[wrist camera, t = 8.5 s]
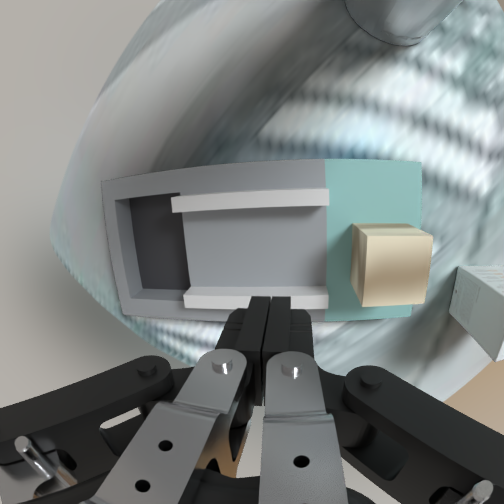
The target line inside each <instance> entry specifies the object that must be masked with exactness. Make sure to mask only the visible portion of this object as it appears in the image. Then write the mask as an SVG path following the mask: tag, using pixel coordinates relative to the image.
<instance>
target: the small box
mask: <svg viewBox="0 0 504 504" xmlns="http://www.w3.org/2000/svg"><path fill="white" fill-rule="evenodd" d="M449 313H450V314H451V315H452V316H453V317H454V318H455V319H456V320H457V321H458V322H459V323H460V324H461V326H462V327H463V328H464V329H465V330H466V331H467V332H468V333H469V334H470V335H471V336H472V337H473V338H474V339H475V340H476V342H477V343H478V344H479V345H480V346H481V347H482V348H483V349H484V350H485V352H486V353H487V354H488V355H489V356H490V357H491V358H492V359H493V361H494V362H497V361H501V360H504V265H497V266H458V270H457V275H456V281H455V286H454V291H453V295H452V300H451V304H450V309H449Z"/></svg>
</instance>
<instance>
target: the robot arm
mask: <svg viewBox="0 0 504 504" xmlns="http://www.w3.org/2000/svg"><path fill="white" fill-rule="evenodd" d="M462 1H463V0H346V7H347V10H348V12H349V14H350V16H351V17H352V18H353V19H354V21H355V22H356V23H357V24H358V25H359V26H360V27H361V28H362V29H364V30H365V31H366V32H368V33H369V34H370V35H372V36H374V37H376V38H378V39H380V40H382V41H385V42H387V43H390V44H395V45H401V46H409V45H414V44H417V43H419V42H420V41H422V40H423V39H424V38H425V37H426V36H427V35H428V34H429V33H430V32H431V31H432V30H433V29H434V28H435V27H436V26H437V25H438V24H439V23H440V22H441V21H443V20H444V19H445V18H446V17H447V16H448V15H449V14H450V13H451V12H452V11H453V10H454V9H455V8H456V7H457V6H458V5H459V4H460V3H461V2H462ZM263 396H264V406H265V416H264V418H263V435H262V453H261V472H260V476H255V477H245V478H236V473H237V467H238V464H239V461H240V458H241V455H242V452H243V449H244V446H245V442H246V439H247V436H248V433H249V429H250V426H251V417H252V413H253V408H254V406H262V402H263ZM137 407H138V409H139V411H140V413H141V414H140V415H138V416H136V417H133V418H131V419H129V420H127V421H125V422H122V423H120V424H118V425H115V426H113V427H111V428H107V429H103V428H100V425H101V424H102V423H103V422H105V421H107V420H109V419H112V418H114V417H117V416H119V415H121V414H124V413H126V412H128V411H130V410H133V409H135V408H137ZM341 457H342V458H343V459H344V460H346V461H347V462H348V463H349V464H351V465H352V466H353V467H354V468H355V469H357V470H358V471H359V472H360V473H361V474H363V475H364V476H365V477H366V478H368V479H369V480H370V481H372V482H373V483H374V484H375V485H377V486H378V487H379V488H381V489H382V490H383V491H385V492H386V493H387V494H389V495H390V496H391V497H393V498H394V499H396V500H397V501H398V502H400V503H401V504H504V435H502V434H500V433H498V432H496V431H494V430H492V429H491V428H489V427H487V426H485V425H483V424H481V423H479V422H477V421H476V420H474V419H472V418H470V417H468V416H466V415H464V414H463V413H461V412H459V411H457V410H455V409H454V408H452V407H450V406H448V405H446V404H444V403H443V402H441V401H439V400H437V399H436V398H434V397H432V396H430V395H429V394H427V393H425V392H423V391H422V390H420V389H418V388H416V387H415V386H413V385H411V384H409V383H408V382H406V381H404V380H402V379H401V378H399V377H397V376H396V375H394V374H392V373H390V372H389V371H387V370H385V369H383V368H381V367H377V366H368V365H367V366H360V367H357V368H354V369H353V370H351V371H350V372H349V373H348V374H347V375H346V376H340V375H335V374H331V373H329V372H326V371H324V370H323V369H321V368H320V367H319V366H318V365H317V363H316V361H315V360H314V350H313V337H312V326H311V316H310V314H309V313H308V312H307V311H306V310H305V309H291V296H272V299H271V296H251V299H250V302H249V305H248V308H237V309H236V310H234V311H233V312H232V313H231V314H229V317H228V319H227V321H226V324H225V326H224V330H223V331H222V333H221V336H220V338H219V340H218V343H217V345H216V347H215V350H212V351H210V352H208V353H206V354H204V355H203V356H202V357H201V358H200V359H199V361H198V362H197V364H196V366H195V367H190V368H182V369H171V367H170V364H169V362H168V361H167V360H166V359H164V358H162V357H159V356H143V357H140V358H137V359H134V360H133V361H130V362H127V363H125V364H122V365H120V366H117V367H115V368H112V369H110V370H108V371H105V372H103V373H100V374H97V375H95V376H92V377H89V378H87V379H84V380H82V381H79V382H76V383H73V384H71V385H68V386H65V387H63V388H60V389H57V390H54V391H51V392H48V393H46V394H43V395H40V396H37V397H34V398H31V399H28V400H25V401H22V402H19V403H16V404H13V405H9V406H6V407H3V408H0V496H1V500H2V504H375V503H374V502H373V501H372V500H370V499H369V498H368V497H366V496H364V495H363V494H361V493H359V492H357V491H355V490H353V489H350V488H347V487H346V485H345V479H344V472H343V466H342V461H341Z"/></svg>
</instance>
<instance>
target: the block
mask: <svg viewBox="0 0 504 504" xmlns="http://www.w3.org/2000/svg"><path fill="white" fill-rule="evenodd" d="M432 245H433V236H432V235H430V234H428V233H426V232H424V231H422V230H420V229H418V228H416V227H414V226H412V225H410V224H407V223H352V254H351V273H350V282H351V284H352V286H353V289H354V291H355V293H356V295H357V297H358V299H359V301H360V303H361V305H362V307H373V306H393V305H409V304H423V303H424V302H425V297H426V291H427V285H428V278H429V271H430V263H431V255H432Z"/></svg>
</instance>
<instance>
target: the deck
mask: <svg viewBox="0 0 504 504" xmlns="http://www.w3.org/2000/svg"><path fill="white" fill-rule="evenodd" d="M101 188H102V198H103V208H104V216H105V224H106V231H107V237H108V244H109V250H110V256H111V261H112V266H113V272H114V277H115V281H116V286H117V291H118V295H119V299H120V304H121V308H122V312H123V315H131V316H142V317H154V318H167V319H182V320H201V321H227V319H228V317H229V314H231V313H232V312H233V311H234V310H236V309H237V308H248V305H249V302H250V299H251V296H271V299H272V296H291V309H305V310H306V311H307V312H308V313H309V314H310V316H311V322H326V321H351V320H369V319H384V318H397V317H409V316H411V311H412V305H413V304H409V305H393V306H373V307H362V305H361V303H360V301H359V299H358V297H357V295H356V293H355V291H354V289H353V286H352V284H351V282H350V273H351V254H352V223H407V224H410V225H412V226H414V227H416V228H418V229H420V230H421V214H422V170H421V162H410V161H394V160H370V159H298V160H273V161H256V162H242V163H229V164H218V165H208V166H199V167H190V168H182V169H174V170H167V171H160V172H153V173H146V174H140V175H134V176H128V177H122V178H117V179H111V180H106V181H101Z"/></svg>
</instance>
